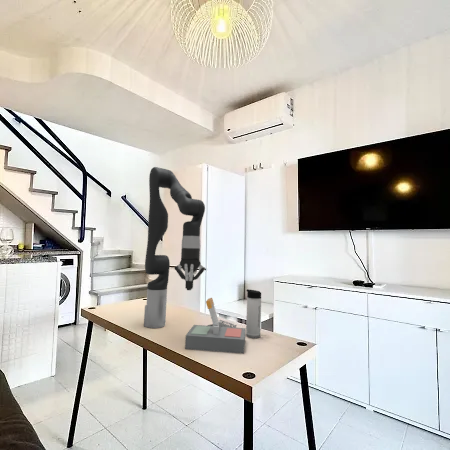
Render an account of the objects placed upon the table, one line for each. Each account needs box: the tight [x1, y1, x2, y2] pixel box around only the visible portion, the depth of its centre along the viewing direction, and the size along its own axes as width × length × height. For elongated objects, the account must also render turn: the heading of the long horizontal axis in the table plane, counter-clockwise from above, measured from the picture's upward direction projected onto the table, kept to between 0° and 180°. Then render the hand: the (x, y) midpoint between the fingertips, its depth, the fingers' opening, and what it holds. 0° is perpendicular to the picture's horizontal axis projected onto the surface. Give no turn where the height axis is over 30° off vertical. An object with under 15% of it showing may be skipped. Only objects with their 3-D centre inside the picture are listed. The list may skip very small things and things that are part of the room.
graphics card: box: [206, 319, 237, 328], centre depth 128 cm, size 17×4×12 cm
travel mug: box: [245, 288, 262, 339], centre depth 124 cm, size 6×7×20 cm
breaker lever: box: [205, 297, 220, 326], centre depth 113 cm, size 2×6×11 cm, turn 174°
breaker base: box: [184, 320, 246, 354], centre depth 112 cm, size 22×14×8 cm, turn 83°
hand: (189, 290), depth 114 cm, fingers closed
